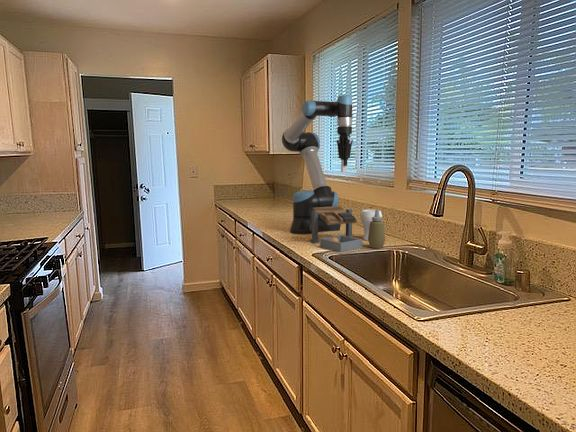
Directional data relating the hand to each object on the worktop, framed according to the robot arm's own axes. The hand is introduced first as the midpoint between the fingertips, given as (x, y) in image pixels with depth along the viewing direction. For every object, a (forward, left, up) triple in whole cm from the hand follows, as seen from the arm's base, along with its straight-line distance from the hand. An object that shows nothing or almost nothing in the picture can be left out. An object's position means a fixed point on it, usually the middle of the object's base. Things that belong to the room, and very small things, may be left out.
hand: (344, 172), depth 220 cm
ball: (+18, -24, -31) cm, 43 cm away
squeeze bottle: (+29, -7, -35) cm, 46 cm away
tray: (+18, -20, -34) cm, 44 cm away
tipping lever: (+2, -12, -32) cm, 35 cm away
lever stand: (+4, -12, -34) cm, 37 cm away
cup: (+15, +5, -35) cm, 38 cm away
